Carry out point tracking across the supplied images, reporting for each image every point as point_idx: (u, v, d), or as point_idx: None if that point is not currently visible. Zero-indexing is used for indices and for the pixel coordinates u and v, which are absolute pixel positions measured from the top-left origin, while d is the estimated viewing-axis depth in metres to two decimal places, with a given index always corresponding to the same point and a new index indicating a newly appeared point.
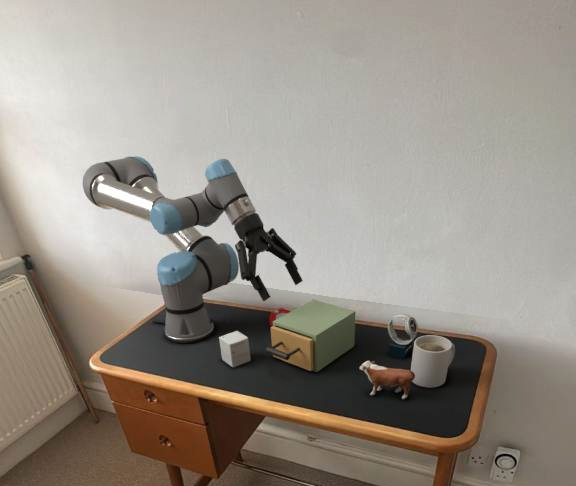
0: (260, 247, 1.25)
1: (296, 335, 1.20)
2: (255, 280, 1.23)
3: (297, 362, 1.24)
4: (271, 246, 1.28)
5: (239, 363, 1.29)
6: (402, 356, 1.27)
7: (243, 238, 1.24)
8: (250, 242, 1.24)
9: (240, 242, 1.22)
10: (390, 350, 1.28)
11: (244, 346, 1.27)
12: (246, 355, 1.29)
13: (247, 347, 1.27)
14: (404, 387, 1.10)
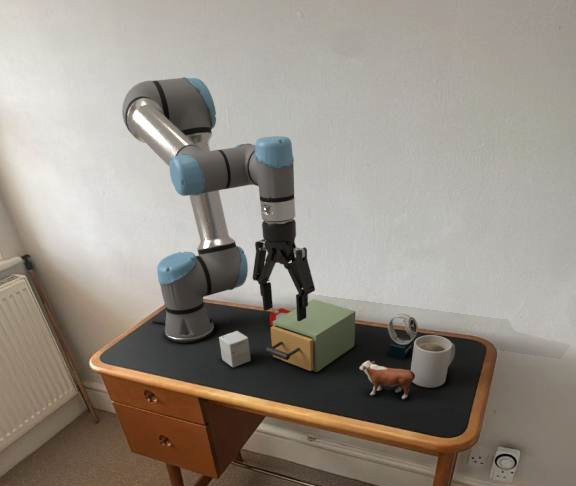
0: (274, 258, 1.07)
1: (296, 335, 1.20)
2: (261, 287, 1.16)
3: (297, 362, 1.24)
4: None
5: (239, 363, 1.29)
6: (402, 356, 1.27)
7: None
8: (267, 248, 1.07)
9: (256, 244, 1.09)
10: (390, 350, 1.28)
11: (244, 346, 1.27)
12: (246, 355, 1.29)
13: (247, 347, 1.27)
14: (404, 387, 1.10)
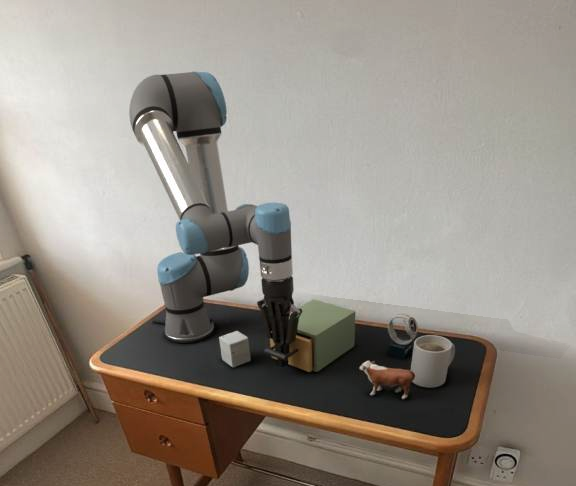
0: (273, 310, 1.14)
1: None
2: (276, 345, 1.20)
3: (295, 363, 1.24)
4: None
5: (239, 363, 1.29)
6: (402, 356, 1.27)
7: None
8: (267, 301, 1.14)
9: (258, 304, 1.16)
10: (390, 350, 1.28)
11: (244, 346, 1.27)
12: (246, 355, 1.29)
13: (247, 347, 1.27)
14: (404, 387, 1.10)
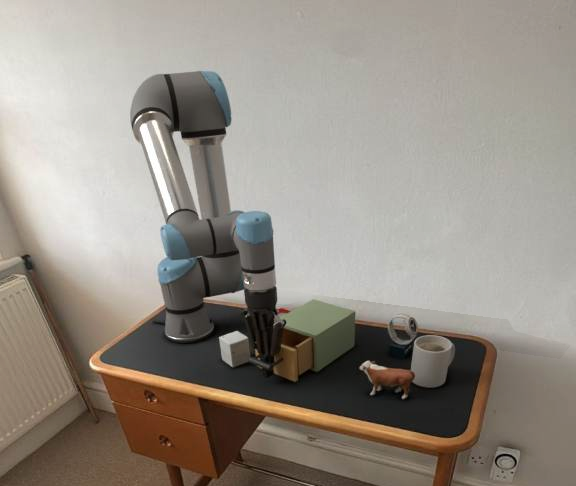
0: (257, 321, 1.11)
1: None
2: (260, 356, 1.17)
3: (281, 372, 1.21)
4: None
5: (239, 363, 1.29)
6: (402, 356, 1.27)
7: None
8: (250, 311, 1.10)
9: (241, 314, 1.13)
10: (390, 350, 1.28)
11: (244, 346, 1.27)
12: (246, 355, 1.29)
13: (247, 347, 1.27)
14: (404, 387, 1.10)
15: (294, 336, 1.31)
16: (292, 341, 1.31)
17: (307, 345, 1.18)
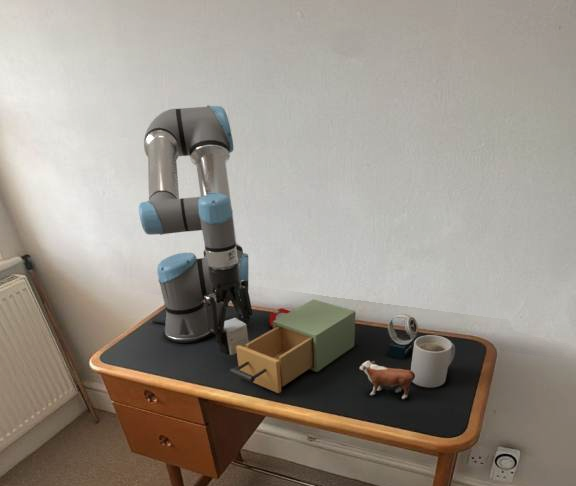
0: None
1: (262, 355, 1.12)
2: (221, 336, 1.22)
3: (264, 383, 1.17)
4: (236, 300, 1.21)
5: None
6: (402, 356, 1.27)
7: (214, 287, 1.15)
8: (220, 294, 1.16)
9: (211, 300, 1.14)
10: (390, 350, 1.28)
11: (243, 333, 1.25)
12: (245, 342, 1.27)
13: (245, 334, 1.25)
14: (404, 387, 1.10)
15: (279, 345, 1.28)
16: (277, 350, 1.28)
17: (291, 355, 1.15)
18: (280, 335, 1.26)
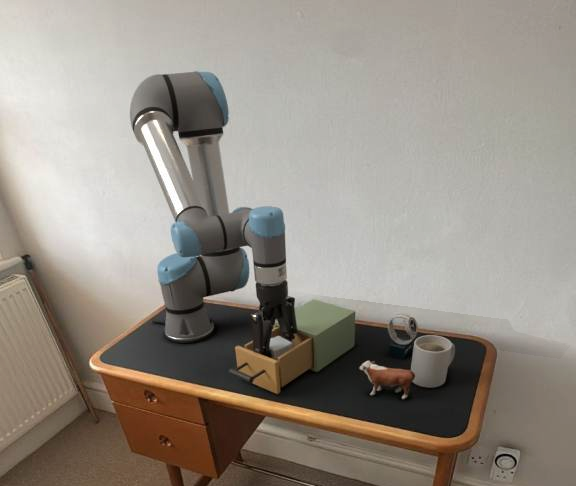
0: None
1: (261, 356, 1.12)
2: (266, 356, 1.15)
3: (263, 384, 1.17)
4: (282, 318, 1.14)
5: None
6: (402, 356, 1.27)
7: (261, 304, 1.08)
8: (268, 312, 1.09)
9: (259, 318, 1.08)
10: (390, 350, 1.28)
11: None
12: None
13: None
14: (404, 387, 1.10)
15: None
16: None
17: (290, 356, 1.14)
18: None
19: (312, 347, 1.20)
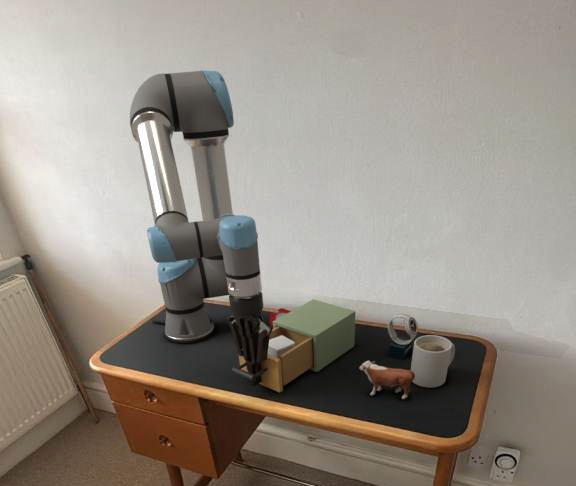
0: (242, 328, 1.08)
1: None
2: None
3: (266, 383, 1.17)
4: None
5: None
6: (402, 356, 1.27)
7: None
8: (236, 318, 1.08)
9: (227, 320, 1.10)
10: (390, 350, 1.28)
11: None
12: None
13: None
14: (404, 387, 1.10)
15: None
16: None
17: (292, 355, 1.15)
18: (281, 334, 1.27)
19: None
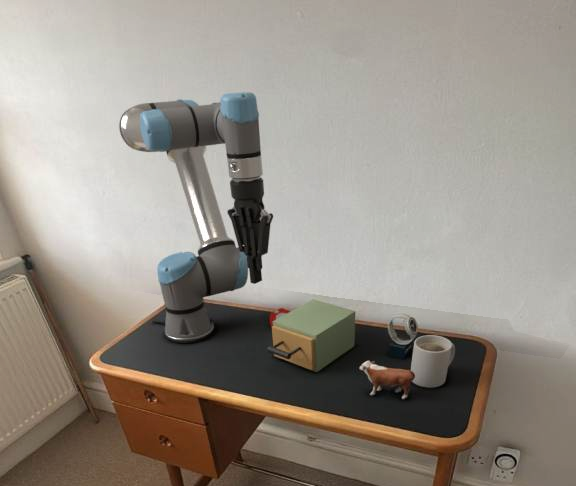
0: (243, 218, 1.09)
1: (297, 334, 1.20)
2: (248, 259, 1.15)
3: (298, 361, 1.25)
4: None
5: None
6: (402, 356, 1.27)
7: None
8: (237, 207, 1.08)
9: (228, 213, 1.11)
10: (390, 350, 1.28)
11: None
12: None
13: None
14: (404, 387, 1.10)
15: None
16: None
17: None
18: None
19: None
